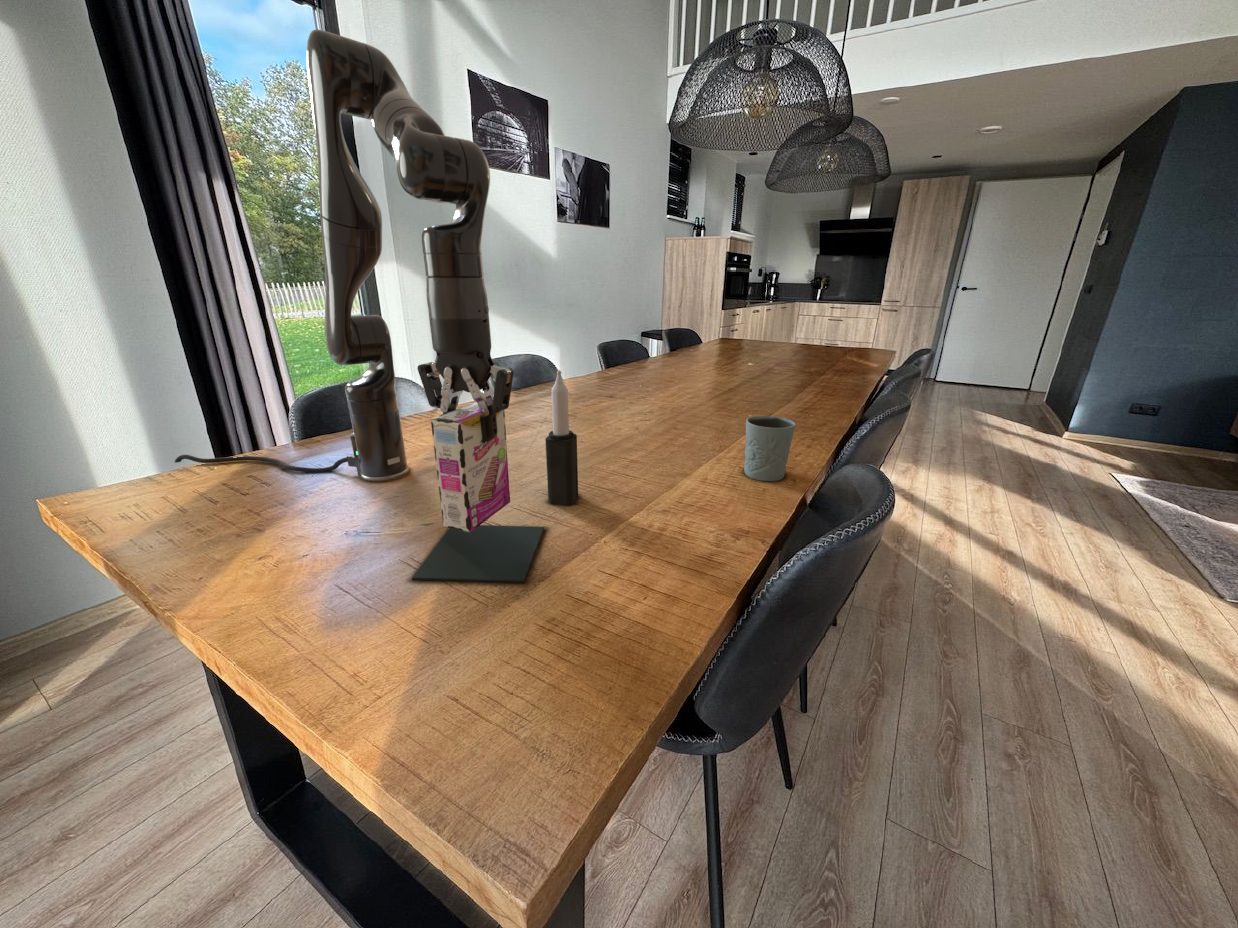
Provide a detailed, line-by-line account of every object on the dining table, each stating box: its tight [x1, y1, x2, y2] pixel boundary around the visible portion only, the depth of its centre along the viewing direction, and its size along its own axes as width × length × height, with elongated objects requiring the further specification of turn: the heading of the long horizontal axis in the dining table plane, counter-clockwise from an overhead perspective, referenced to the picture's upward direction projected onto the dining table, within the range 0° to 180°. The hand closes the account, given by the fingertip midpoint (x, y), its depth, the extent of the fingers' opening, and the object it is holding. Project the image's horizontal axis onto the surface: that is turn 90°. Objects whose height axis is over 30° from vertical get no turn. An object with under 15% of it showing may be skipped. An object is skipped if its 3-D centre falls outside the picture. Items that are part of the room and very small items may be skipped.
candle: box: [544, 369, 579, 506], centre depth 91 cm, size 5×5×25 cm
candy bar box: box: [430, 401, 511, 533], centre depth 72 cm, size 11×5×16 cm, turn 161°
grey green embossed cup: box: [743, 415, 797, 482], centre depth 106 cm, size 10×10×12 cm
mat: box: [411, 524, 545, 584], centre depth 77 cm, size 16×16×1 cm
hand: (472, 437), depth 70 cm, fingers closed on candy bar box, 5 cm apart
